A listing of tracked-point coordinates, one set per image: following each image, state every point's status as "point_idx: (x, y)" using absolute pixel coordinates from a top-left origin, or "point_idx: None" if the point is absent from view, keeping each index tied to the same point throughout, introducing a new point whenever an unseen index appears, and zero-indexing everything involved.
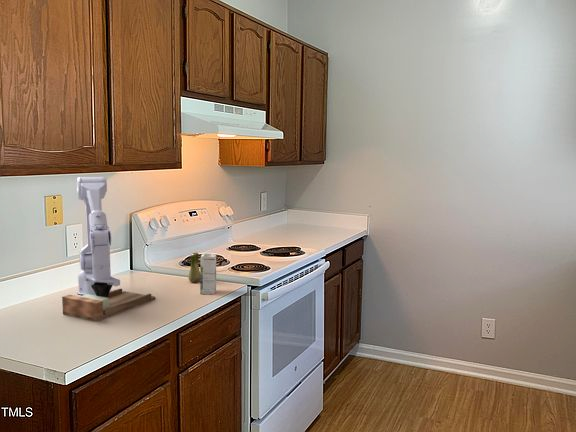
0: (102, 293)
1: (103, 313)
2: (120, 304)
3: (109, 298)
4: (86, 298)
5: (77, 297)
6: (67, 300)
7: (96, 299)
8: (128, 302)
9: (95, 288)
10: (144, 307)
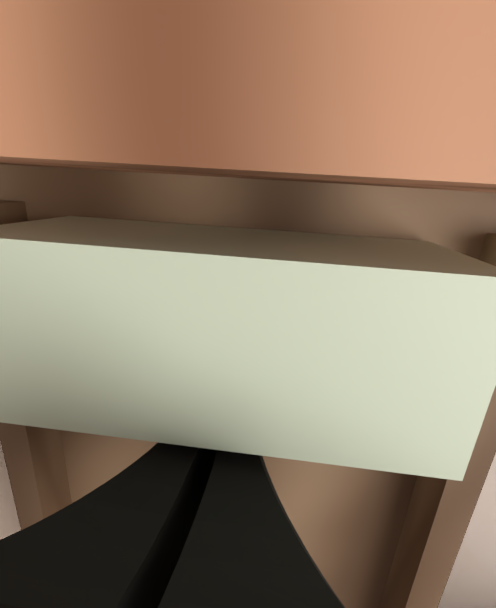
0: (102, 490)
1: (11, 201)
2: (10, 432)
3: (350, 586)
4: (125, 113)
5: (416, 65)
6: None
7: (66, 285)
8: (17, 502)
9: (206, 576)
10: (8, 514)
